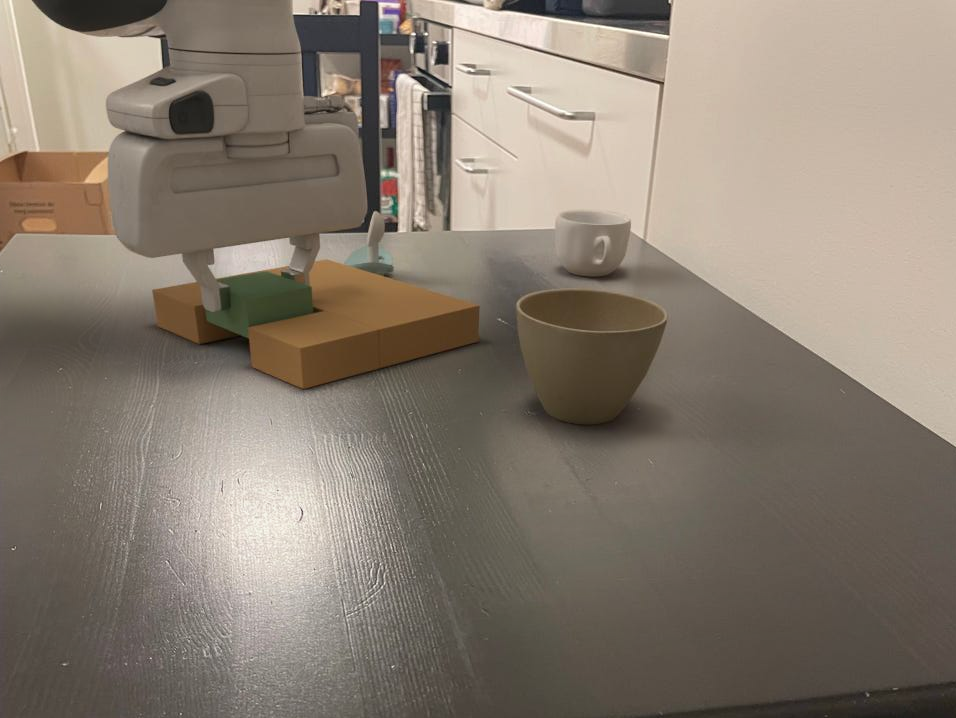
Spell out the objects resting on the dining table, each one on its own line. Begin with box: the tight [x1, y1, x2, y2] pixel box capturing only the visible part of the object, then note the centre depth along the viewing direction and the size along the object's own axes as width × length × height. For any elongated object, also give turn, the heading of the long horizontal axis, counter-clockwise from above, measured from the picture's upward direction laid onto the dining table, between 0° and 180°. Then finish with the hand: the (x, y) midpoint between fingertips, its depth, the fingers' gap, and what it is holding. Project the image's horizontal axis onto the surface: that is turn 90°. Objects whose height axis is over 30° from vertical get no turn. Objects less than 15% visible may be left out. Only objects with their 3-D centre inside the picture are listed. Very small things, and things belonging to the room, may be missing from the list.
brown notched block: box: [152, 259, 481, 390], centre depth 80 cm, size 20×18×3 cm
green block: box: [205, 271, 313, 339], centre depth 75 cm, size 6×6×3 cm
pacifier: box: [344, 210, 395, 276], centre depth 95 cm, size 7×6×6 cm
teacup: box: [554, 209, 632, 277], centre depth 100 cm, size 10×8×5 cm
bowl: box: [515, 287, 669, 425], centre depth 65 cm, size 10×10×7 cm
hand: (257, 301), depth 75 cm, fingers closed on green block, 6 cm apart
